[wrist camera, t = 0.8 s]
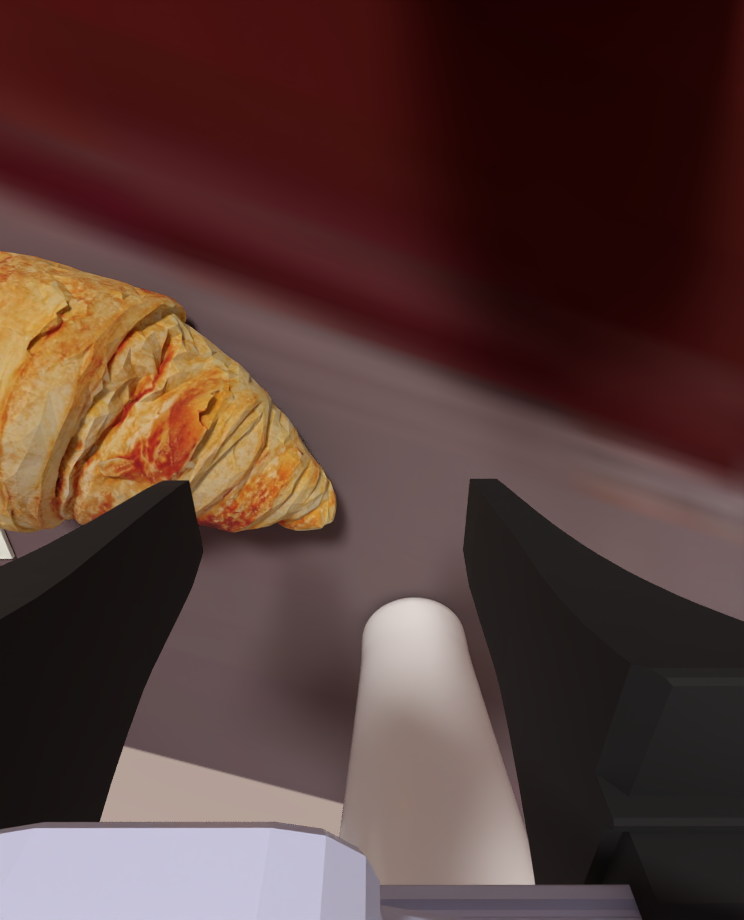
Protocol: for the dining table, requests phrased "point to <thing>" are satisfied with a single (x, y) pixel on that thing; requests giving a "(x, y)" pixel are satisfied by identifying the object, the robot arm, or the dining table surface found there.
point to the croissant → (134, 410)
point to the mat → (5, 546)
